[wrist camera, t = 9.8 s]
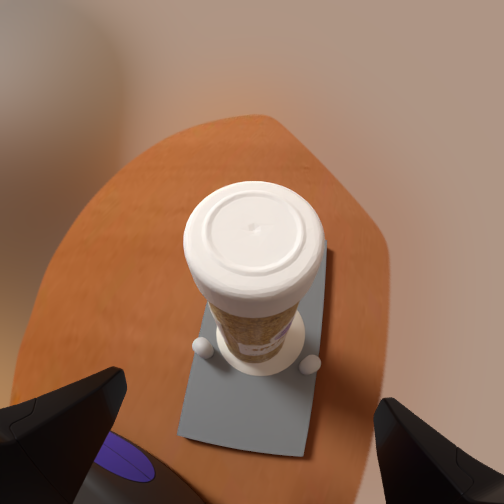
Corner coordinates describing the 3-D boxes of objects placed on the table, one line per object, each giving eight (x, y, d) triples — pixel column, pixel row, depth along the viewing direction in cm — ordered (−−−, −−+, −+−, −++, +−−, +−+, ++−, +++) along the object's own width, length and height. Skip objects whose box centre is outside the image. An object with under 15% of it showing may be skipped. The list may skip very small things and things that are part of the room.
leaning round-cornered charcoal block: (247, 505, 14) (243, 565, 6) (217, 541, 12) (197, 602, 4) (81, 391, 18) (5, 371, 10) (60, 426, 16) (-17, 419, 8)
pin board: (300, 454, 16) (308, 461, 14) (180, 433, 17) (169, 437, 15) (324, 246, 25) (332, 227, 23) (227, 232, 26) (225, 212, 24)
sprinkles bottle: (271, 373, 19) (301, 323, 7) (213, 349, 20) (153, 263, 8) (293, 317, 21) (341, 198, 9) (238, 296, 22) (220, 162, 10)
